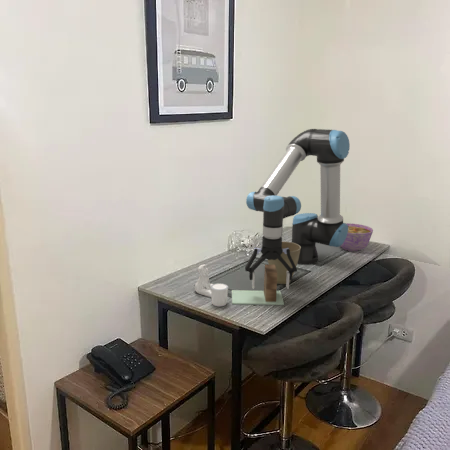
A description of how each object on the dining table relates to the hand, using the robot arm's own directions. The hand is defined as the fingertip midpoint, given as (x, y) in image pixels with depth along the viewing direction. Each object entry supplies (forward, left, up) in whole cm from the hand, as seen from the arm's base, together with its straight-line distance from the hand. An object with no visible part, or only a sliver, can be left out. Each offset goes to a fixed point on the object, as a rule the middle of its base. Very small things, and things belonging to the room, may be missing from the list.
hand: (270, 287), depth 180 cm
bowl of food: (-50, -63, -5) cm, 81 cm away
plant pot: (-7, -18, -5) cm, 20 cm away
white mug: (+20, +5, -5) cm, 21 cm away
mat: (+5, 0, -4) cm, 7 cm away
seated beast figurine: (+26, -5, -5) cm, 27 cm away
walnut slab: (0, 0, -4) cm, 4 cm away
